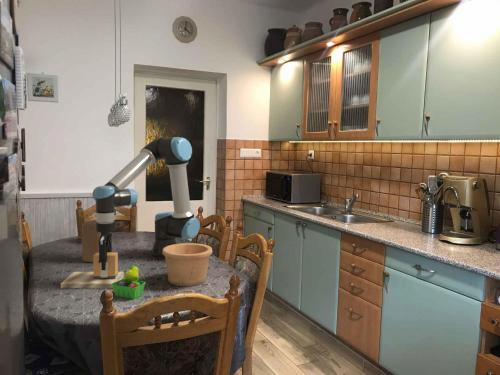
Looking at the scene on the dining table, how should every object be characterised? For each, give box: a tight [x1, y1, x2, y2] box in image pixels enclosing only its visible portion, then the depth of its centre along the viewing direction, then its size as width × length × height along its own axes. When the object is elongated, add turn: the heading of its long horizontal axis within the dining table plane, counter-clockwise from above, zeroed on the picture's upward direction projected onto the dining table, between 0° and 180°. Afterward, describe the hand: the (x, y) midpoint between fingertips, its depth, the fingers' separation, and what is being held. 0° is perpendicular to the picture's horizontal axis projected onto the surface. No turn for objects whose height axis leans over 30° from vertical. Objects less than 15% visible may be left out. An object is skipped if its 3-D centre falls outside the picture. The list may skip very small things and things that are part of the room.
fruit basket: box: [112, 264, 147, 300], centre depth 158 cm, size 11×9×11 cm
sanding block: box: [92, 251, 119, 278], centre depth 173 cm, size 9×5×10 cm, turn 96°
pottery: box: [162, 242, 213, 287], centre depth 178 cm, size 22×22×14 cm
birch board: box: [60, 271, 125, 289], centre depth 173 cm, size 22×16×2 cm
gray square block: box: [54, 277, 67, 285], centre depth 171 cm, size 4×4×2 cm
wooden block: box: [81, 220, 101, 263], centre depth 204 cm, size 10×10×20 cm
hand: (105, 274), depth 173 cm, fingers closed on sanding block, 5 cm apart
